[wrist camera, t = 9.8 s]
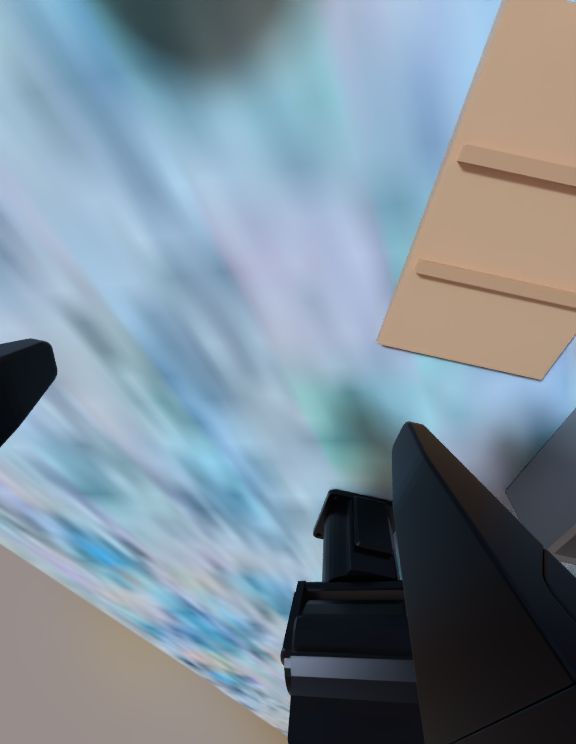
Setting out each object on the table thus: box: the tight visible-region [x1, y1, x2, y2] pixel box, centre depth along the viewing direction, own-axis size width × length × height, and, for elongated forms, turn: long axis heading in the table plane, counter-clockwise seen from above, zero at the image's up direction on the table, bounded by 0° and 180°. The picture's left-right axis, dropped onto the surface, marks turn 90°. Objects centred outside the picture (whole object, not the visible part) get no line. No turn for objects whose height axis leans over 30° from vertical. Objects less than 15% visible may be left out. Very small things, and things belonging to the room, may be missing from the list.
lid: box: [377, 0, 576, 380], centre depth 14 cm, size 17×10×4 cm, turn 169°
